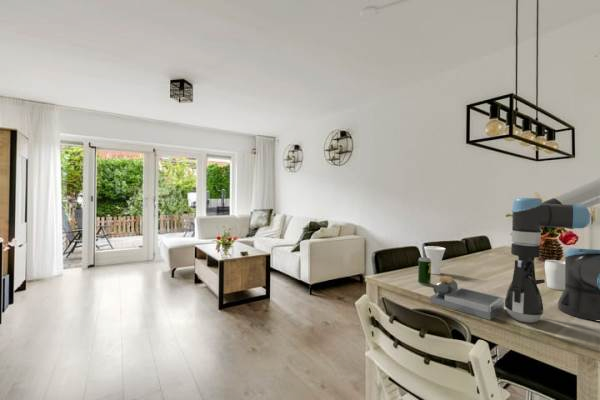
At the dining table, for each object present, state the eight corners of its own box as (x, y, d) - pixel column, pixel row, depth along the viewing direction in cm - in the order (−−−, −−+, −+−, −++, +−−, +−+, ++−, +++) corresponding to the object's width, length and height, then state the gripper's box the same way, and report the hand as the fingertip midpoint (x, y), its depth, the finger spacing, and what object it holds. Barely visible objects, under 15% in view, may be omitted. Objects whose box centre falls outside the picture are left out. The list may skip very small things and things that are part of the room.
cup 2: (542, 283, 137) (542, 258, 137) (567, 287, 132) (568, 261, 132) (546, 289, 129) (547, 262, 129) (573, 292, 125) (574, 265, 124)
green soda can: (417, 284, 134) (417, 258, 134) (418, 281, 138) (419, 256, 138) (430, 286, 131) (430, 260, 131) (431, 283, 136) (431, 257, 136)
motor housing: (503, 309, 105) (504, 284, 105) (490, 320, 96) (490, 293, 96) (447, 294, 121) (447, 272, 121) (430, 302, 111) (430, 279, 111)
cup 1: (449, 275, 150) (450, 249, 150) (430, 276, 148) (431, 249, 148) (437, 270, 160) (437, 245, 160) (419, 270, 159) (420, 246, 159)
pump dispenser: (544, 329, 89) (546, 280, 89) (503, 320, 96) (505, 274, 95) (542, 318, 98) (544, 273, 97) (505, 310, 104) (506, 268, 104)
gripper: (521, 239, 107) (519, 295, 108) (500, 245, 91) (498, 312, 91) (547, 242, 101) (545, 301, 102) (530, 249, 85) (527, 320, 86)
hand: (523, 307), depth 97 cm, fingers open, 13 cm apart
